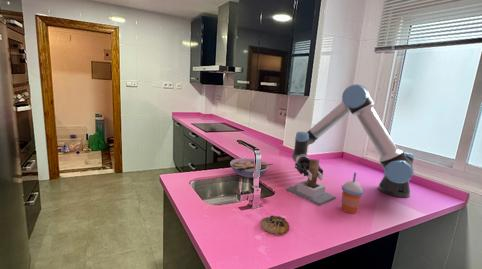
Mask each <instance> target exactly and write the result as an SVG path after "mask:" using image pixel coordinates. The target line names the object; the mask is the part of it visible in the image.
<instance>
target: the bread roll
mask: <svg viewBox="0 0 482 269" xmlns="http://www.w3.org/2000/svg"><path fill="white" fill-rule="evenodd" d="M259 224H260V229H262V230H263V231H264V232H266V233H267V234H271V235H276V236H283V235H285V234H287V233H288V232H289V231H290V223H289V222H288V221H287V220H286V218H284V217H282V216H280V215H279V216H277V215H273V214H272V215H270V216H268V217H267V216H266V217H263V218H262V219H261V220H260V221H259Z"/></svg>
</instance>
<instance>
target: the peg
mask: <svg viewBox="0 0 482 269" xmlns="http://www.w3.org/2000/svg"><path fill="white" fill-rule="evenodd" d="M309 159H310V158H309ZM319 167H320V160H318V159H316V158H311V159H310V165H309V171H310V173H311V174H312V180H310V179H309V178H308V177H307V180H308V181H307V180H306V181H307V186H308V187H311V188H316V183H318V180H317V179H318V177H317V175H318V168H319Z"/></svg>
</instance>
